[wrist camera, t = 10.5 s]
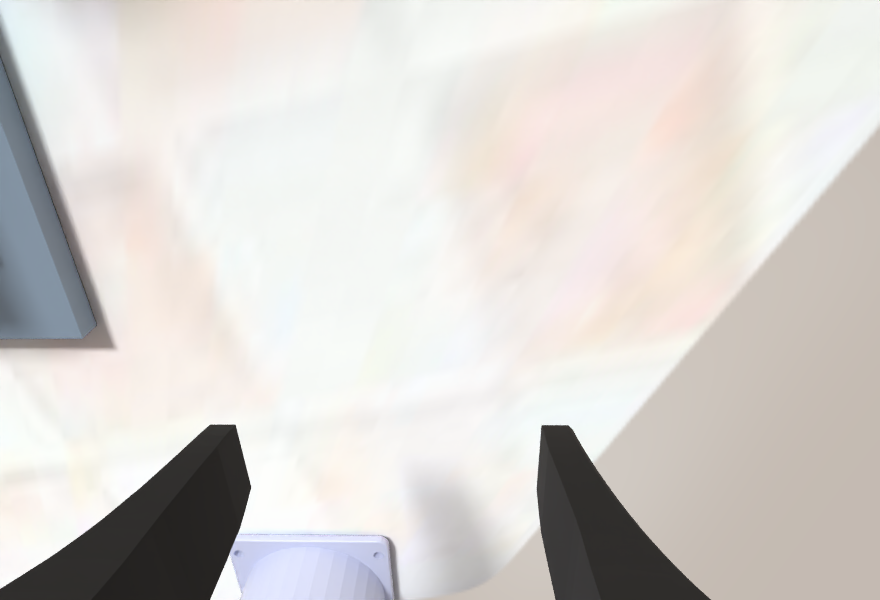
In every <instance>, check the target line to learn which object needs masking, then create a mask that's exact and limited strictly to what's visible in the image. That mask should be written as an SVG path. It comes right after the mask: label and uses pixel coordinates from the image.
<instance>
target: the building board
mask: <svg viewBox="0 0 880 600" xmlns="http://www.w3.org/2000/svg"><path fill="white" fill-rule="evenodd" d="M96 326H97V324H96V321H95V319H94V316H93V313H92V310H91V308H90V305H89V302H88V299H87V296H86V294H85V291H84V288H83V285H82V283H81V280H80V277H79V274H78V271H77V269H76V266H75V263H74V260H73V258H72V255H71V252H70V249H69V247H68V244H67V241H66V238H65V235H64V233H63V230H62V227H61V224H60V222H59V219H58V216H57V213H56V210H55V208H54V205H53V202H52V199H51V197H50V194H49V191H48V188H47V185H46V183H45V180H44V177H43V174H42V172H41V169H40V166H39V163H38V160H37V158H36V155H35V152H34V149H33V147H32V144H31V141H30V138H29V136H28V133H27V130H26V127H25V124H24V122H23V119H22V116H21V113H20V111H19V108H18V105H17V102H16V99H15V97H14V94H13V91H12V88H11V86H10V83H9V80H8V77H7V74H6V72H5V69H4V66H3V63H2V61H1V58H0V339H83V338H84V337H85V336H86V335H87V334H88V333H89V332H90V331H91V330H92V329H93V328H95V327H96Z"/></svg>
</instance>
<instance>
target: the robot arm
mask: <svg viewBox="0 0 880 600" xmlns="http://www.w3.org/2000/svg"><path fill="white" fill-rule="evenodd" d="M250 490H251V485H250V481H249V477H248V473H247V469H246V465H245V461H244V457H243V453H242V449H241V445H240V441H239V437H238V433H237V429H236V425H209V426H208V427H207V428H206V429H205V430H204V431H202V432H201V433H200V434H199V435H198V436H197V437H196V438H195V439H194V440H193V441H192V442H190V443H189V444H188V445H187V446H186V447H185V448H184V449H183V450H182V451H181V452H180V453H179V454H178V455H176V456H175V457H174V458H173V459H172V460H171V461H170V462H169V463H168V464H167V465H165V466H164V467H163V468H162V469H161V470H160V471H159V472H158V473H157V474H155V475H154V476H153V477H152V478H151V479H150V480H149V481H148V482H147V483H145V484H144V485H143V486H142V487H141V488H140V489H138V490H137V491H136V492H135V493H134V494H132V495H131V496H130V497H129V498H128V499H126V500H125V501H124V502H123V503H122V504H120V505H119V506H118V507H117V508H116V509H114V510H113V511H112V512H111V513H109V514H108V515H107V516H106V517H105V518H103V519H102V520H101V521H100V522H98V523H97V524H96V525H94V526H93V527H92V528H90V529H89V530H88V531H86V532H85V533H84V534H82V535H81V536H80V537H78V538H77V539H76V540H74V541H73V542H71V543H70V544H68V545H67V546H66V547H64V548H63V549H61V550H60V551H59V552H57V553H56V554H54V555H53V556H51V557H50V558H48V559H47V560H45V561H44V562H42V563H41V564H39V565H37V566H36V567H34V568H33V569H31V570H30V571H28V572H26V573H25V574H23V575H22V576H20V577H19V578H17V579H15V580H14V581H12V582H11V583H9V584H7V585H6V586H4V587H3V588H1V589H0V600H210V598H211V596H212V594H213V591H214V589H215V587H216V584H217V582H218V580H219V577H220V575H221V572H222V570H223V568H224V565H225V563H226V561H227V558H228V556H229V554H230V556H231V560H232V563H233V566H234V570H235V573H236V576H237V580H238V583H239V586H240V590H241V593H242V595H241V597H240V600H394V590H393V580H392V570H391V560H390V549H389V542H388V540H387V539H386V538H385V537H382V536H360V535H257V534H238V532H239V529H240V526H241V523H242V519H243V516H244V512H245V509H246V505H247V501H248V498H249V494H250ZM537 497H538V508H539V517H540V526H541V534H542V538H543V543H544V548H545V553H546V557H547V562H548V567H549V571H550V576H551V581H552V585H553V590H554V594H555V599H556V600H711V599H709V598H708V597H707V596H706V595H705V594H704V593H703V592H702V591H700V590H699V589H698V588H697V587H696V586H695V585H694V584H693V583H692V582H691V581H690V580H689V579H688V578H687V577H686V576H685V575H684V574H683V573H682V572H681V571H680V570H679V569H678V568H677V567H676V566H675V565H674V564H673V563H672V562H671V561H670V560H669V559H668V558H667V557H666V556H665V555H664V554H663V553H662V552H661V551H660V549H659V548H658V547H657V546H656V545H655V544H654V543H653V542H652V541H651V540H650V539H649V537H648V536H647V535H646V534H645V533H644V532H643V530H642V529H641V528H640V527H639V525H638V524H637V523H636V522H635V520H634V519H633V518H632V517H631V516H630V515H629V513H628V512H627V511H626V509H625V508H624V507H623V505H622V504H621V503H620V502H619V500H618V499H617V498H616V496H615V495H614V493H613V492H612V491H611V489H610V488H609V487H608V485H607V484H606V482H605V481H604V480H603V478H602V477H601V475H600V474H599V472H598V471H597V469H596V468H595V466H594V465H593V463H592V462H591V460H590V458H589V457H588V455H587V454H586V452H585V451H584V449H583V447H582V446H581V444H580V442H579V440H578V439H577V437H576V435H575V433H574V431H573V430H572V429H571V428H570V427H569V426H568V425H542V427H541V440H540V453H539V466H538V479H537Z"/></svg>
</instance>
